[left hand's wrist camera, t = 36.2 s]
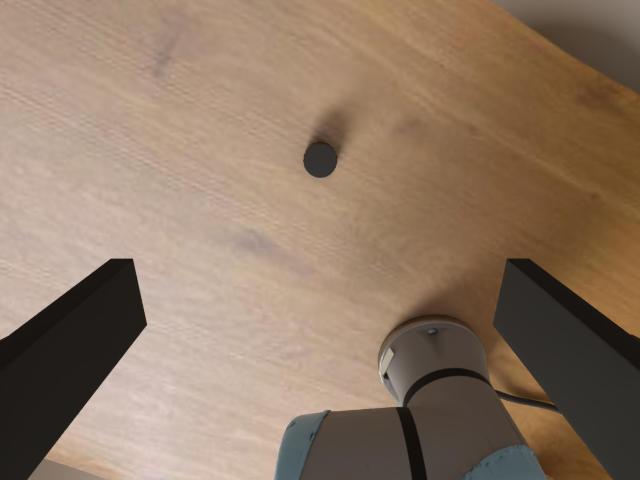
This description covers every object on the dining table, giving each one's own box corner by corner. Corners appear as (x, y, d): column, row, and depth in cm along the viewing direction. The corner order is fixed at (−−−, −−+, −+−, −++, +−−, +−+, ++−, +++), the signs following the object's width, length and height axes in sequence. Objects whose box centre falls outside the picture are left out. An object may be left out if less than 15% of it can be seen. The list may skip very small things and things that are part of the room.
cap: (304, 175, 43) (303, 178, 41) (303, 142, 41) (302, 144, 39) (336, 174, 42) (337, 177, 41) (336, 141, 41) (336, 142, 39)
